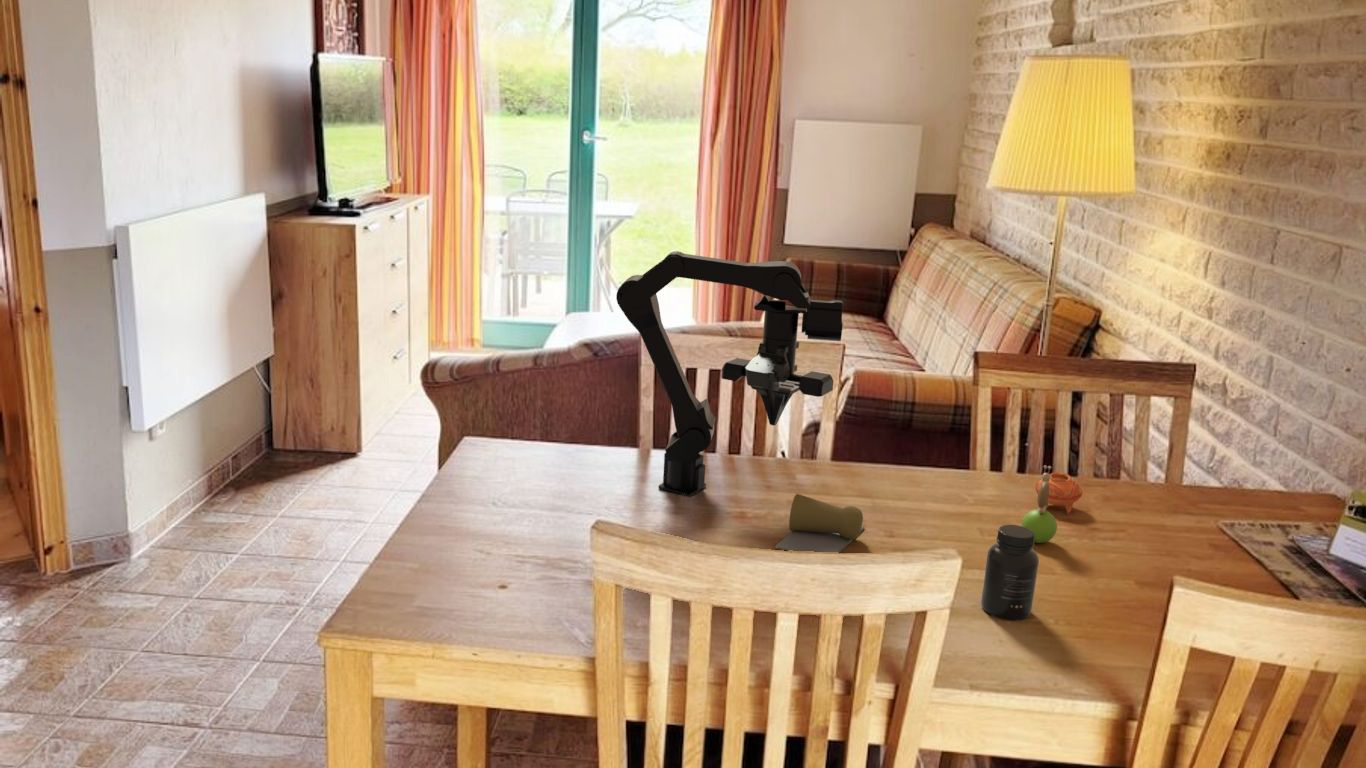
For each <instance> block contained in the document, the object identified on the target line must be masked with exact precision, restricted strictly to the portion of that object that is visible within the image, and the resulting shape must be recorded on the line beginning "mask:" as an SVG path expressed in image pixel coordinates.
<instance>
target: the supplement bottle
mask: <svg viewBox="0 0 1366 768" xmlns="http://www.w3.org/2000/svg"><path fill="white" fill-rule="evenodd" d="M1034 537H1035V534H1034V532H1033V531H1032V530H1030V529H1028V528H1026V527H1023V526H1022V525H1017V524H1004V525H1001V526H999V527H998V530H997V537H996V543H994V544H992V545H991V546H990V547H989V548H988V550H987V555H986V556H987V557H986V563H985V570H984V577H983V586H982V592H981V593H982V594H981V602H980V603H981V607H982V608H983V610H984V612H986V613H987V614H989V615H990V616H993V617H994V618H998V619H1002V620H1006V621H1022V620H1025V619H1026V618H1029V616H1030V615H1031V613H1032V609H1033V604H1034V597H1035V596H1034V595H1035V590H1036V589H1035V588H1036V583H1037V576H1038V570H1039V563H1040V562H1039V561H1040V560H1039V559H1040V558H1039V556H1038V553H1037V552H1036V551H1035V549H1033V548H1034V547H1035V542H1034Z"/></svg>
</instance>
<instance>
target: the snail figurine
mask: <svg viewBox="0 0 1366 768" xmlns="http://www.w3.org/2000/svg"><path fill="white" fill-rule="evenodd" d="M1043 469H1044V472H1043V474H1042V475H1041V479H1042V483H1041V486H1040V487H1039V491H1038V494H1037V499H1036V500H1037V501H1036V502H1037V508H1035V509H1032V510H1030V511H1028V512H1027V513H1026V514H1025V515H1024V516H1023V518H1022V521H1021V526H1023V527H1026V528H1028V529H1030V530H1032V531H1033V532H1034V534H1035V537H1034V543H1037V544H1042V543H1046V542H1050V540H1052V539H1053V538H1054V537H1055V536H1056V533H1057V532H1058V531H1057V530H1058V523H1057V521H1056V518H1055V516H1054V515H1053V514H1052V513H1051V512H1049V511H1048V510H1047V507H1048V506H1049V503H1048V500H1049V488H1050V485H1049V480H1050V472H1046V470H1047V469H1048V471H1050V470H1051V469H1052V466H1051V465H1048V466H1047V465H1043Z"/></svg>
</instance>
